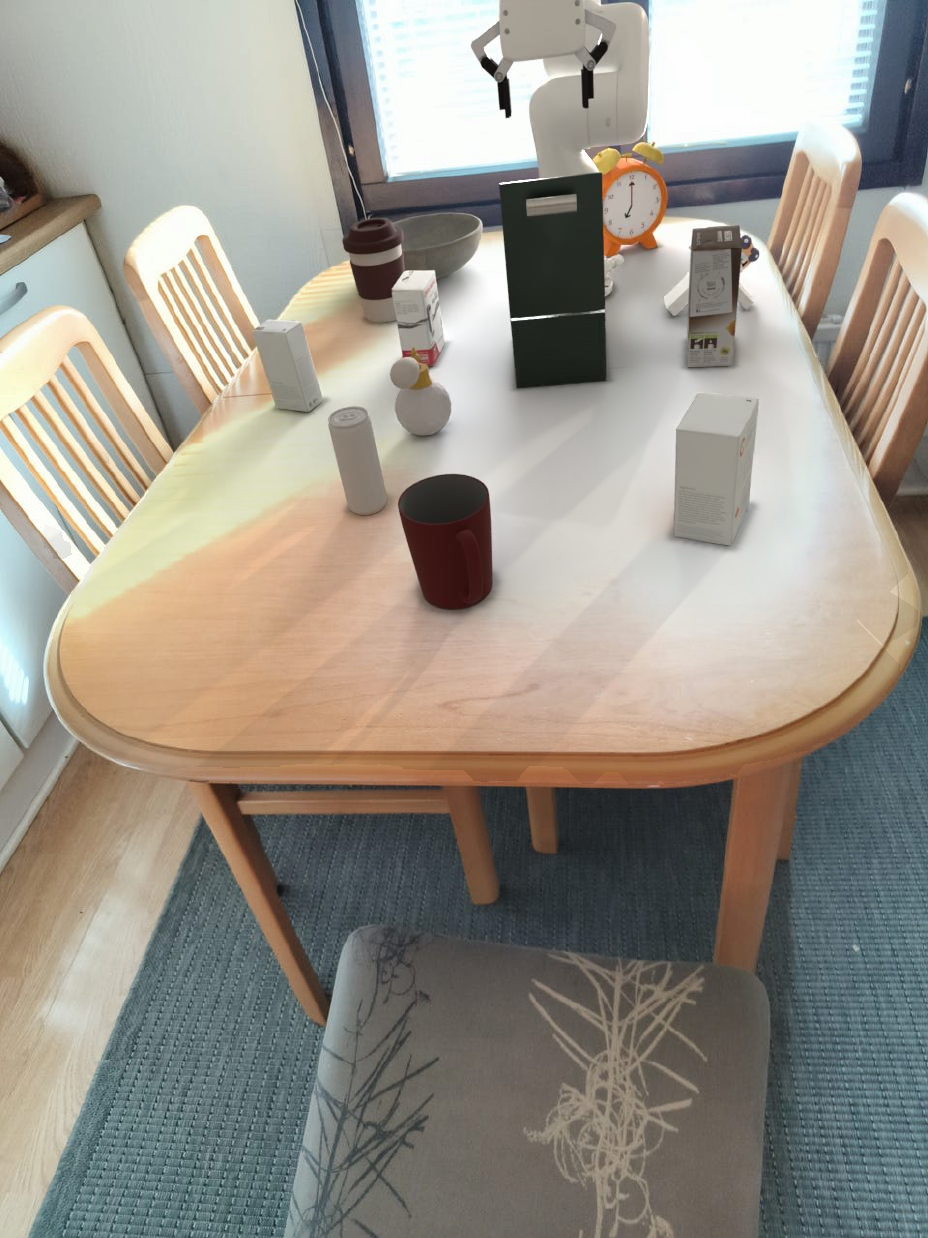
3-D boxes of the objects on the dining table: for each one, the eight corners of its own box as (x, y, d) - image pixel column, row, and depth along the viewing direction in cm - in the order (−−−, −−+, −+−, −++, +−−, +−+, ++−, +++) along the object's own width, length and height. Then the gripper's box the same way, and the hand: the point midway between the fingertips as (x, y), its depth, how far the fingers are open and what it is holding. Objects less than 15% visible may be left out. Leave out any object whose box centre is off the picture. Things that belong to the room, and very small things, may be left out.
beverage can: (348, 498, 108) (327, 409, 101) (387, 492, 108) (369, 402, 101) (348, 519, 105) (325, 429, 97) (388, 513, 105) (369, 422, 97)
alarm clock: (598, 260, 160) (595, 137, 147) (587, 250, 164) (583, 130, 151) (667, 245, 161) (671, 123, 148) (654, 236, 166) (656, 116, 153)
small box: (692, 496, 100) (698, 390, 91) (750, 505, 97) (761, 396, 89) (671, 537, 95) (674, 428, 86) (730, 547, 92) (740, 436, 84)
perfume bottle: (450, 412, 122) (438, 328, 114) (460, 446, 115) (448, 359, 107) (397, 422, 122) (381, 338, 114) (403, 456, 115) (386, 370, 107)
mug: (525, 615, 88) (516, 523, 81) (442, 644, 86) (425, 552, 79) (481, 552, 97) (469, 464, 90) (404, 577, 95) (386, 490, 88)
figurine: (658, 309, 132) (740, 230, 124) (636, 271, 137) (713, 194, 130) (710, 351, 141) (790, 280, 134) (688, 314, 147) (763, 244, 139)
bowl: (445, 301, 154) (439, 254, 148) (351, 290, 163) (342, 245, 158) (506, 258, 166) (502, 213, 161) (415, 250, 176) (409, 207, 171)
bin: (518, 342, 137) (512, 278, 131) (600, 334, 136) (599, 270, 129) (516, 388, 125) (510, 321, 119) (606, 380, 124) (605, 312, 117)
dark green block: (499, 183, 110) (497, 190, 106) (601, 171, 108) (604, 178, 104) (510, 316, 119) (509, 328, 115) (605, 307, 117) (607, 319, 113)
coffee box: (733, 366, 122) (743, 247, 112) (686, 368, 124) (691, 250, 113) (731, 338, 129) (740, 223, 119) (685, 340, 130) (691, 226, 120)
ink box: (434, 367, 134) (422, 289, 126) (403, 368, 135) (389, 291, 127) (446, 342, 140) (435, 267, 133) (416, 343, 141) (404, 269, 134)
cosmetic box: (324, 399, 130) (305, 319, 122) (307, 414, 127) (286, 333, 119) (290, 395, 132) (269, 316, 125) (273, 409, 130) (250, 329, 122)
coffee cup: (348, 325, 150) (329, 234, 141) (374, 302, 157) (357, 214, 148) (400, 328, 147) (384, 234, 137) (424, 304, 154) (410, 213, 144)
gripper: (612, -74, 102) (614, 96, 113) (463, -52, 104) (479, 112, 115) (617, -69, 96) (618, 108, 107) (459, -46, 98) (476, 126, 109)
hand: (546, 110), depth 111 cm, fingers open, 9 cm apart
